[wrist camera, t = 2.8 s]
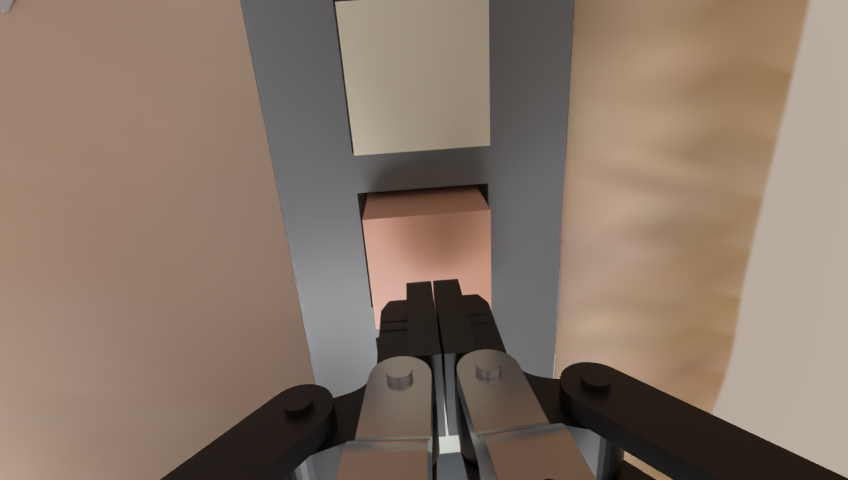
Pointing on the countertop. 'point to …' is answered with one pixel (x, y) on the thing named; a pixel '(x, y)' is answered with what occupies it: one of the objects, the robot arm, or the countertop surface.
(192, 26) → the countertop surface
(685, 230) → the countertop surface
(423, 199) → the terracotta key
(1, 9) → the coffee box
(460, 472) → the slate key
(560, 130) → the keypad
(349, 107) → the sand key
